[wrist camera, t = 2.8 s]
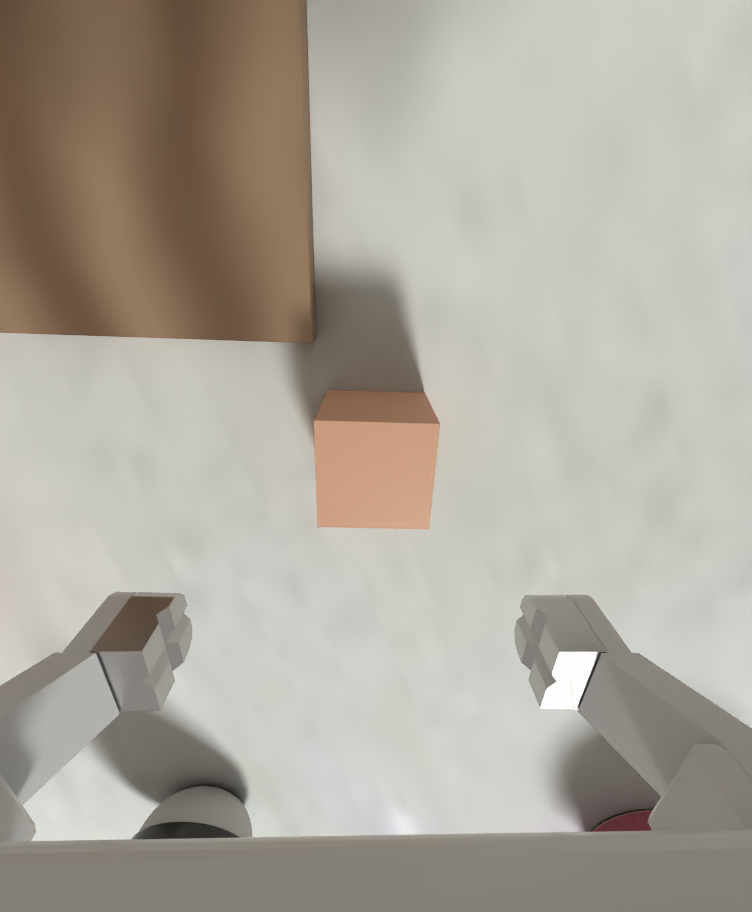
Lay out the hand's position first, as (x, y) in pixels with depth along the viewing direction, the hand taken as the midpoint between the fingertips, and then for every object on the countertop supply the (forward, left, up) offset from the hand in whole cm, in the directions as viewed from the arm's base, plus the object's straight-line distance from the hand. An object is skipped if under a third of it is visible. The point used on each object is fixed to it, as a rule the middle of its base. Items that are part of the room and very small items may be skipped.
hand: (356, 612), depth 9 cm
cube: (-1, 0, -12) cm, 12 cm away
